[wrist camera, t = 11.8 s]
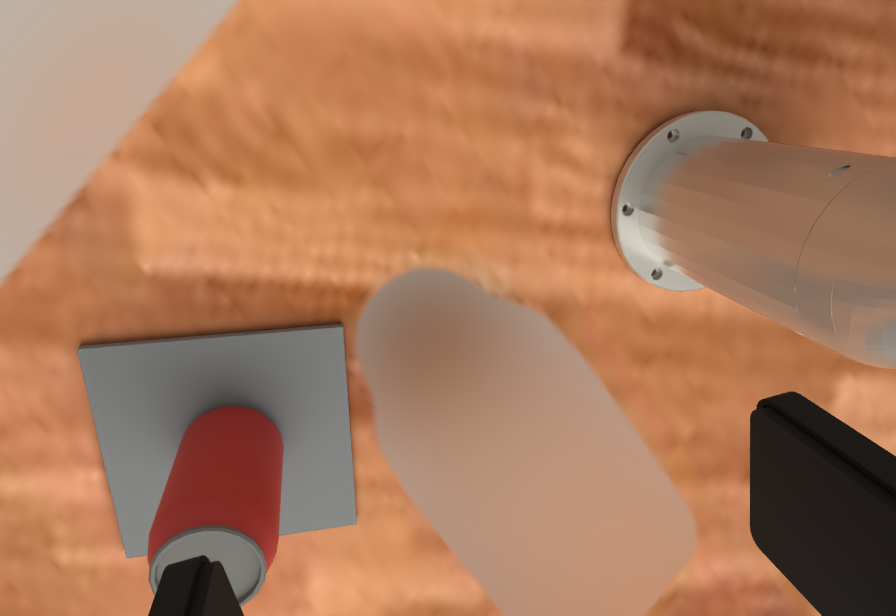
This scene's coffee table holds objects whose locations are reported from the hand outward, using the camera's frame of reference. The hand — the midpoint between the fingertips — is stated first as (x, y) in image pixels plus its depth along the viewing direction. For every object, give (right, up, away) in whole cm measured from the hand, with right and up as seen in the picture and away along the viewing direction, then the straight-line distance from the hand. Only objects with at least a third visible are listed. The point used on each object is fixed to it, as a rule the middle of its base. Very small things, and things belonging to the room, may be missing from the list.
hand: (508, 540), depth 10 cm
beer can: (-16, -5, +31) cm, 35 cm away
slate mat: (-16, -5, +32) cm, 36 cm away
